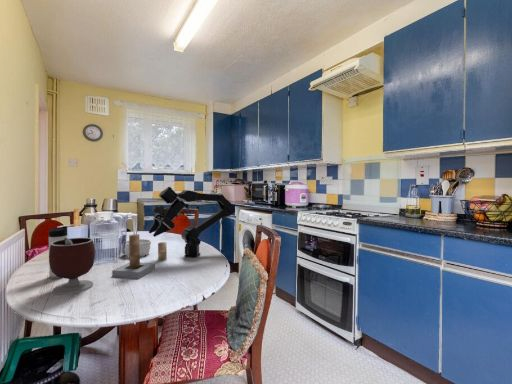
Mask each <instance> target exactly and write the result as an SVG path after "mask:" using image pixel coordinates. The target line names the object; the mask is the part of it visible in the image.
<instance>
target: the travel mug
mask: <svg viewBox="0 0 512 384" xmlns="http://www.w3.org/2000/svg"><path fill="white" fill-rule="evenodd" d="M64 238H68V239H69V237H68V226H66V225H63V226H60V227H59V226H58V227H53V228H50V229H49V230H48V251H49V250H50V246H51V243H52V242H54V241H58V240H63V239H64ZM48 264H49V263H48ZM48 266H49V269H48V270H49V278H50V279H52V280H58V279H61V278H60V277H57V276H56V275H55V274H54V273H53V272H52V271H51V268H50V264H49V265H48Z"/></svg>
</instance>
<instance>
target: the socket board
mask: <svg viewBox="0 0 512 384" xmlns="http://www.w3.org/2000/svg"><path fill="white" fill-rule="evenodd" d="M154 270H156V263H152V262H140V268H138V269H130V261H129V262H127V263H126V264H122V265H120V266H119V267H116V268H114V269H112V270H111V271H112V272H111V275H112V276H111V277H114V278H115V277H116V278H128V279H140V278H143V277H144V276H146V275H147V274H149V273H151V272H154Z"/></svg>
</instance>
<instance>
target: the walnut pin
mask: <svg viewBox="0 0 512 384" xmlns="http://www.w3.org/2000/svg"><path fill="white" fill-rule="evenodd" d="M140 239H141V237H140V234H137V233H135V234H134V233H133V234H129V235H128V241H129V257H128V258H129V262H130V269H138V268H140V263H141V261H140V260H141V257H140Z"/></svg>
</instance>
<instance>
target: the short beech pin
mask: <svg viewBox="0 0 512 384" xmlns="http://www.w3.org/2000/svg"><path fill="white" fill-rule="evenodd" d="M167 250H168V249H167V242H165V241H161V242H158V243H157V260H158V261H165V260H167V258H168V257H167V252H168V251H167Z"/></svg>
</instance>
